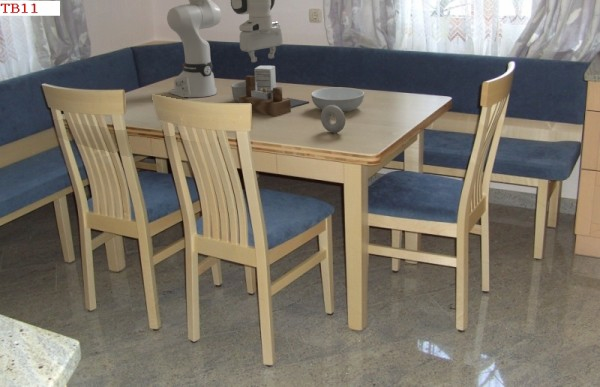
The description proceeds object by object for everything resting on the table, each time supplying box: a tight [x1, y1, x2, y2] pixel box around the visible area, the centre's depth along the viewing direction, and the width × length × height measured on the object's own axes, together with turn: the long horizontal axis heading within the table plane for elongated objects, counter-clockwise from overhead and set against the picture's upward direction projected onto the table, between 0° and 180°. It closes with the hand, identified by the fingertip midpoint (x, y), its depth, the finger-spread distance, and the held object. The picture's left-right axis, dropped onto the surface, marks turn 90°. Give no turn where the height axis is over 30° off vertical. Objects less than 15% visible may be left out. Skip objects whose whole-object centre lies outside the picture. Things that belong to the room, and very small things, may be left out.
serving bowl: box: [310, 86, 365, 113], centre depth 293 cm, size 21×21×7 cm
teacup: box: [230, 80, 257, 104], centre depth 311 cm, size 14×11×8 cm
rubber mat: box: [285, 97, 310, 109], centre depth 306 cm, size 12×12×1 cm
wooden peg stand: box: [238, 74, 292, 117], centre depth 294 cm, size 20×9×13 cm, turn 48°
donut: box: [320, 105, 346, 134], centre depth 261 cm, size 10×4×10 cm, turn 51°
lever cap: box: [251, 88, 273, 101], centre depth 294 cm, size 9×5×4 cm, turn 48°
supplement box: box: [253, 65, 277, 91], centre depth 318 cm, size 7×7×13 cm
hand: (262, 60), depth 289 cm, fingers open, 8 cm apart
